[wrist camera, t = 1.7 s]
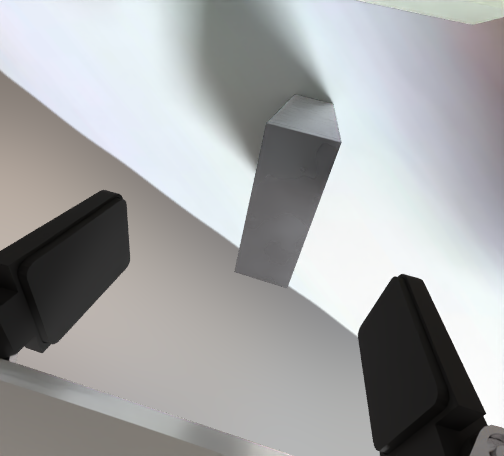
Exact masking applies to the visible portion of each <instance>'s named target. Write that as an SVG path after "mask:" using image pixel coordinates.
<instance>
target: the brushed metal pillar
mask: <svg viewBox="0 0 504 456" xmlns="http://www.w3.org/2000/svg"><path fill="white" fill-rule="evenodd" d="M340 145H341V138H340V133H339V128H338V124H337V119H336V114H335V109H334V104H332V103H328V102H324V101H320V100H316V99H312V98H308V97H304V96H300V95H296V94H294V95H293V96H292V97H291V98H290V99H289V100H288V102H287V103H286V104H285V105H284V106H283V107H282V108H281V109H280V110H279V111H278V112H277V113H276V114H275V115H274V116H273V117H272V118H271V119H270V120H269V121H268V122H267V123H266V127H265V132H264V136H263V141H262V146H261V150H260V155H259V160H258V164H257V169H256V174H255V178H254V183H253V188H252V192H251V197H250V202H249V206H248V211H247V216H246V220H245V225H244V230H243V234H242V239H241V244H240V248H239V253H238V258H237V263H236V267H235V272H236V273H240V274H243V275H246V276H249V277H252V278H256V279H259V280H262V281H265V282H269V283H272V284H275V285H278V286H281V287H285V288H287V287H288V284H289V282H290V279H291V276H292V274H293V271H294V268H295V266H296V263H297V260H298V258H299V255H300V252H301V249H302V247H303V244H304V241H305V239H306V236H307V233H308V231H309V228H310V225H311V223H312V220H313V217H314V215H315V212H316V209H317V207H318V204H319V201H320V198H321V196H322V193H323V190H324V188H325V185H326V182H327V180H328V177H329V174H330V172H331V169H332V166H333V164H334V161H335V158H336V156H337V153H338V150H339V148H340Z"/></svg>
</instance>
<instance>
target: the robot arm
mask: <svg viewBox="0 0 504 456" xmlns="http://www.w3.org/2000/svg"><path fill="white" fill-rule="evenodd" d="M129 262H130V251H129V235H128V221H127V205H126V201H125V200H123V198H122V196H121V195H120V194H117V193H113V192H110V191H106V190H102V191H99V192H98V193H96V194H94V195H93V196H91V197H89V198H88V199H86V200H84V201H83V202H81V203H79V204H78V205H76V206H75V207H73V208H71V209H69V210H68V211H66V212H64V213H63V214H61V215H60V216H58V217H56V218H54V219H53V220H51V221H49V222H48V223H46V224H44V225H43V226H41V227H39V228H38V229H36V230H35V231H33V232H31V233H29V234H28V235H26V236H24V237H23V238H21V239H19V240H18V241H17V242H14V243H13V244H11V245H10V246H8V247H6V248H5V249H3V250H1V251H0V456H292V455H290V454H287V453H284V452H281V451H278V450H275V449H272V448H269V447H266V446H264V445H261V444H258V443H255V442H252V441H249V440H246V439H243V438H240V437H237V436H234V435H231V434H228V433H225V432H222V431H219V430H216V429H213V428H210V427H207V426H204V425H201V424H198V423H195V422H192V421H189V420H186V419H183V418H180V417H177V416H174V415H171V414H168V413H165V412H162V411H159V410H156V409H153V408H150V407H147V406H144V405H141V404H138V403H135V402H132V401H129V400H126V399H124V398H120V397H117V396H114V395H111V394H108V393H105V392H102V391H99V390H96V389H93V388H90V387H87V386H84V385H81V384H78V383H75V382H72V381H69V380H66V379H63V378H60V377H56V376H54V375H51V374H47V373H44V372H41V371H38V370H35V369H32V368H29V367H26V366H23V365H20V364H16V362H17V354H18V352H19V351H20V350H21V349H22V348H23V347H24V346H25V347H26V348H28V349H31V350H34V351H37V352H40V353H43V352H44V351H45V350H46V349H47V348H48V347H49V346H50V345H51V344H55V343H57V342H58V341H59V340H60V339H61V338H62V337H63V336H64V335H65V334H66V333H67V332H68V331H69V330H70V329H71V328H72V326H73V325H74V324H75V323H76V322H77V321H78V320H79V319H80V318H81V317H82V316H83V314H84V313H85V312H86V311H87V310H88V309H89V308H90V307H91V306H92V305H93V304H94V302H95V301H96V300H97V299H98V298H99V297H100V296H101V295H102V294H103V293H104V292H105V291H106V290H107V288H108V287H109V286H110V285H111V284H112V283H113V282H114V281H115V280H116V279H117V278H118V276H119V275H120V274H121V273H122V272H123V271H124V270H125V269H126V268H127V266H128V264H129ZM358 340H359V347H360V354H361V360H362V368H363V375H364V381H365V388H366V395H367V402H368V409H369V416H370V423H371V430H372V437H373V443H374V446H375V448H376V450H378V451H380V456H504V428H502V427H498V426H494V425H490V426H488V425H487V423H486V421H485V419H484V417H483V416H484V415H485V414H486V412H485V410H484V408H483V406H482V404H481V402H480V400H479V398H478V396H477V393H476V391H475V389H474V387H473V385H472V383H471V381H470V379H469V377H468V374H467V372H466V370H465V368H464V366H463V364H462V362H461V360H460V358H459V356H458V353H457V351H456V349H455V347H454V345H453V343H452V341H451V339H450V337H449V334H448V332H447V330H446V328H445V326H444V324H443V322H442V320H441V318H440V315H439V313H438V311H437V309H436V307H435V305H434V303H433V301H432V299H431V296H430V294H429V292H428V290H427V288H426V286H425V284H424V282H423V280H421V279H419V278H416V277H412V276H408V275H405V274H401V275H399V276H398V277H393V278H392V279H391V281H390V282H389V284H388V285H387V287H386V288H385V290H384V291H383V293H382V294H381V296H380V297H379V299H378V300H377V302H376V304H375V305H374V307H373V308H372V310H371V311H370V313H369V314H368V316H367V317H366V319H365V320H364V322H363V323H362V325H361V327H360V329H359V332H358Z"/></svg>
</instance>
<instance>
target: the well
mask: <svg viewBox="0 0 504 456" xmlns="http://www.w3.org/2000/svg"><path fill="white" fill-rule="evenodd" d="M357 1H362V2H367V3H371V4H376V5H381V6H385V7H390V8H395V9H400V10H404V11H409V12H414V13H418V14H423V15H428V16H433V17H437V18H442V19H447V20H451V21H456V22H461V23H465V24H470V25H475V24H479V23H483V22H487V21H491V20H495V19H499V18H502V17H504V0H357Z"/></svg>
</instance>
